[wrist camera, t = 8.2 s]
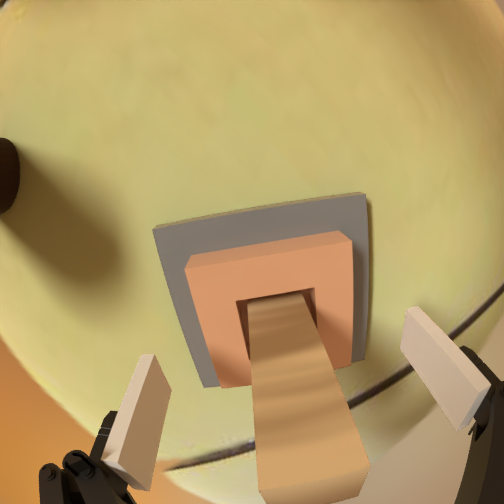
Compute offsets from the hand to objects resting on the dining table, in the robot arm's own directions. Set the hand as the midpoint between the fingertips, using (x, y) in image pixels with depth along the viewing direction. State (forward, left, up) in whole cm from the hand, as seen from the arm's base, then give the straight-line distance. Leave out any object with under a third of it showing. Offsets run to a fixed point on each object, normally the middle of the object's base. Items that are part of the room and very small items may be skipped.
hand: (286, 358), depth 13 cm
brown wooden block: (0, 0, -5) cm, 5 cm away
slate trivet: (0, 0, -6) cm, 6 cm away
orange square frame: (0, 0, -5) cm, 5 cm away
